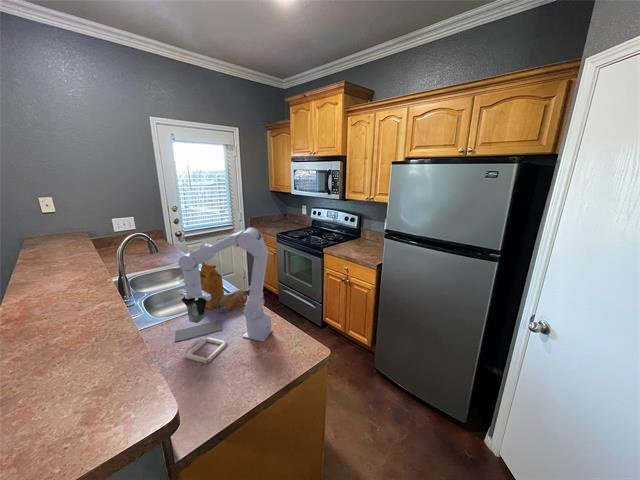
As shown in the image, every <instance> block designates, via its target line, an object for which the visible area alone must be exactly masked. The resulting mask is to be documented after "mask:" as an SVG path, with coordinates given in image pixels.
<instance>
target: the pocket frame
mask: <svg viewBox="0 0 640 480" xmlns="http://www.w3.org/2000/svg"><path fill="white" fill-rule="evenodd" d="M207 342H209V343H212V344H217V345H219V346H218V347H217V348H216V349H215V350H214V351H212V352H211V354H210V355H209V356H207V357H204V356H199V355H197V354H194V353H196V351H198V350H199V348H201V347H202V346H203V345H204V344H206V343H207ZM227 346H228V341H226V340H223V339H222V340H221V339H218V338H215V337H210V336H205V337H204V338H203V339H202V340H200V341H199V342H198V343H196V345H194V346H193V347H192V348H191V349H190V350H188V351H187V352H186V353H184V358H186V359H188V360H190V359H191V360H193V361H197V362H199V363H200V362H201V363H204V364H208V363H210V362H211V361H212V360H213V359H214V358H215V357H216V356H217V355H218V354H220V352H221V351H222V350H224V349H225V347H227Z"/></svg>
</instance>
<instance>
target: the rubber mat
mask: <svg viewBox="0 0 640 480" xmlns="http://www.w3.org/2000/svg"><path fill="white" fill-rule="evenodd" d="M221 331H224V329H223V325H222V320H221V319H219V320H215V321H211V322H206V323H202V324H198V325H194V326H189V327H185V328H181V329H178V330H175V333H174V343H178V342H182V341H186V340H191V339H194V338H198V337H202V336H206V335H210V334H213V333H217V332H221Z"/></svg>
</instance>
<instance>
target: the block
mask: <svg viewBox="0 0 640 480" xmlns="http://www.w3.org/2000/svg"><path fill="white" fill-rule="evenodd" d="M196 300H197V299H195V301H196ZM186 310H187V316H188V317H187V318H188V321H189V322H190V323H195V324H198V323H199V322H201V321H203V320H204V319H205V318H206V317H207V311H206V310H205V311H204V314H202V315H201V316H200V315H199V313H198V309H197V306H196V304H195V303H194V302H192V303H191V304H189V305H187V306H186Z"/></svg>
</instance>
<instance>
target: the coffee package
mask: <svg viewBox="0 0 640 480" xmlns="http://www.w3.org/2000/svg"><path fill="white" fill-rule="evenodd" d="M201 264H202V265H201V267H200V270H199V272H200V279H201V286H202V291H204V292H206V293H208V294H211V299H210V300H209V301H207V303H206V306H205V307H206V308H205V309H208V310H213V309H214V308H217V305H216V304H217V300H218V299H219V298H220V297H221V296H223V295H225V290H224V284H223V283H224V282H223V277H222V275H221V274H220V273H219V272H218V271H217V270H216V268H217V266H216V265H215V264H208V262H207V261H205V262H203V263H201Z"/></svg>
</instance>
